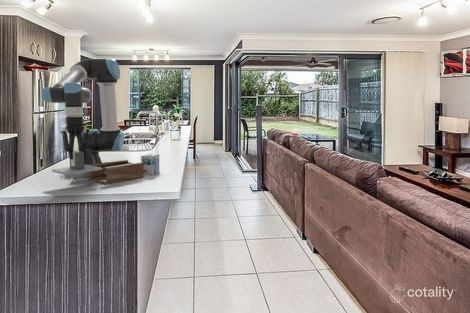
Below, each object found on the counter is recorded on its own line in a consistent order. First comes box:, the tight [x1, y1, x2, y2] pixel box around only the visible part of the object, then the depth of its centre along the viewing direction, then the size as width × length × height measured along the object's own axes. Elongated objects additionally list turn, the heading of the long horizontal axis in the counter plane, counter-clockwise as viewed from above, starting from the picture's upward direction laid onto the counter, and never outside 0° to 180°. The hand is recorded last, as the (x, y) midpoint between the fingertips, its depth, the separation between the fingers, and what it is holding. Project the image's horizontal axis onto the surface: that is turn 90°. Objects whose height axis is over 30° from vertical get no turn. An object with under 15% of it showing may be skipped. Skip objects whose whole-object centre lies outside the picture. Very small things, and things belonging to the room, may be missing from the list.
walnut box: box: [89, 159, 145, 185], centre depth 204 cm, size 16×22×8 cm
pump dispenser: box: [77, 149, 95, 179], centre depth 209 cm, size 10×10×15 cm
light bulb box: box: [140, 153, 160, 176], centre depth 220 cm, size 11×7×11 cm, turn 168°
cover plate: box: [51, 150, 102, 176], centre depth 186 cm, size 13×18×9 cm
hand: (77, 165), depth 186 cm, fingers closed on cover plate, 3 cm apart
